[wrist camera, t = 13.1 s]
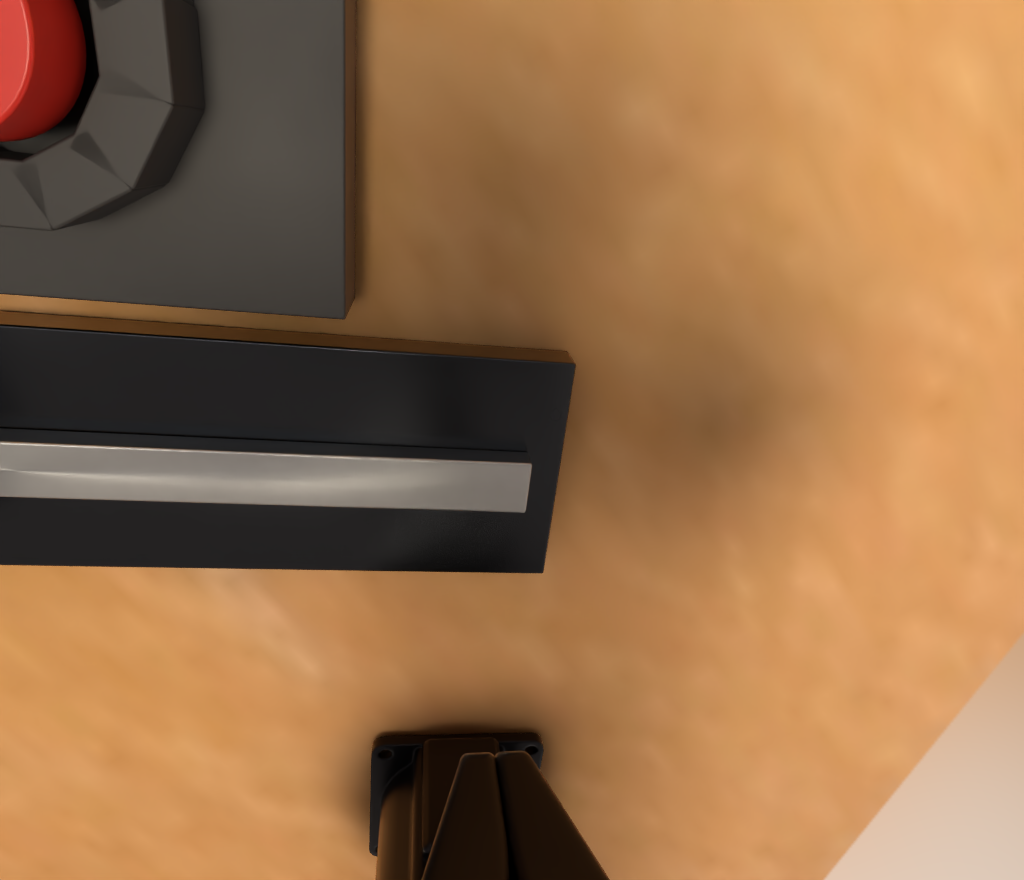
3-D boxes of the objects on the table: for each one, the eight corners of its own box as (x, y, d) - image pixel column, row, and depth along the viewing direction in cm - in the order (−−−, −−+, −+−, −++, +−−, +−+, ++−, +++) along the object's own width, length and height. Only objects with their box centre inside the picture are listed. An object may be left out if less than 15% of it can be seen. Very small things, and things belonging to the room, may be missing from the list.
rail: (537, 552, 21) (565, 657, 17) (-494, 530, 17) (-809, 664, 13) (567, 350, 18) (610, 415, 14) (-668, 262, 14) (-1156, 317, 10)
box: (354, 299, 17) (335, 341, 13) (-162, 257, 15) (-345, 294, 12) (357, -194, 13) (330, -323, 9) (-352, -333, 11) (-731, -563, 7)
